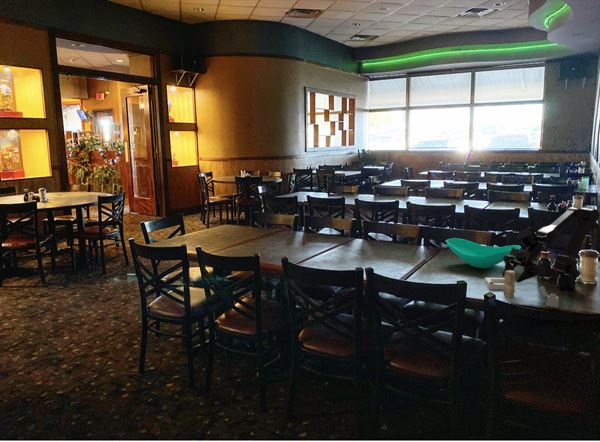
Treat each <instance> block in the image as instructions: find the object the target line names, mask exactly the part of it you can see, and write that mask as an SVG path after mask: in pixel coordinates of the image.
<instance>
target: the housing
mask: <svg viewBox="0 0 600 442" xmlns="http://www.w3.org/2000/svg"><path fill="white" fill-rule="evenodd" d="M504 280H505V277H484V283H485V285H486V284H487V285H486V287H487V288H488V287H489V288H488V290H493V289H503V290H502V291H504Z"/></svg>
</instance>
